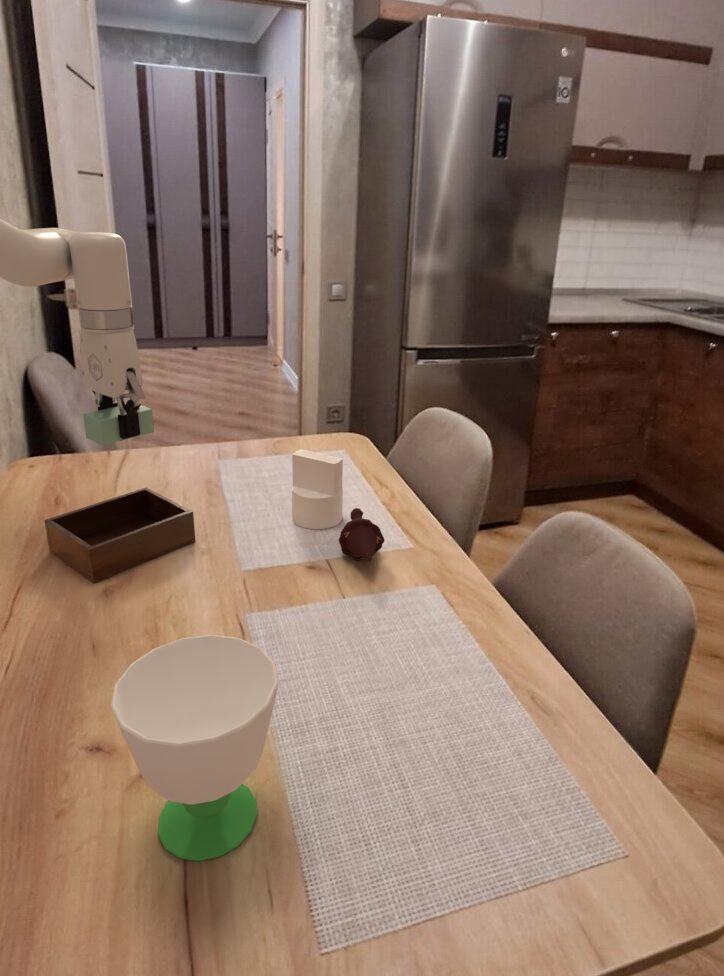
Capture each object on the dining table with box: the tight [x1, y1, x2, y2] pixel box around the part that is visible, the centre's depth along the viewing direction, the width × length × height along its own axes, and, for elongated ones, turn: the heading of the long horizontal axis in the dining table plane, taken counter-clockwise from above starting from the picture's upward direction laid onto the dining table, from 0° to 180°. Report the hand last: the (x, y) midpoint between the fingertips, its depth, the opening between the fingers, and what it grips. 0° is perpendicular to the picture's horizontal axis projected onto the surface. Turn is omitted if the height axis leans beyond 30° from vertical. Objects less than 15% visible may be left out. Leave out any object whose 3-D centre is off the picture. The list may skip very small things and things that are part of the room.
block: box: [82, 404, 155, 446], centre depth 107 cm, size 5×9×4 cm, turn 142°
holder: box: [44, 486, 196, 584], centre depth 107 cm, size 14×18×6 cm
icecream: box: [338, 507, 385, 562], centre depth 108 cm, size 7×7×15 cm
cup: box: [110, 634, 279, 862], centre depth 60 cm, size 14×14×16 cm
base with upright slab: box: [291, 448, 344, 530], centre depth 119 cm, size 9×9×12 cm
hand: (120, 431), depth 108 cm, fingers closed on block, 5 cm apart
